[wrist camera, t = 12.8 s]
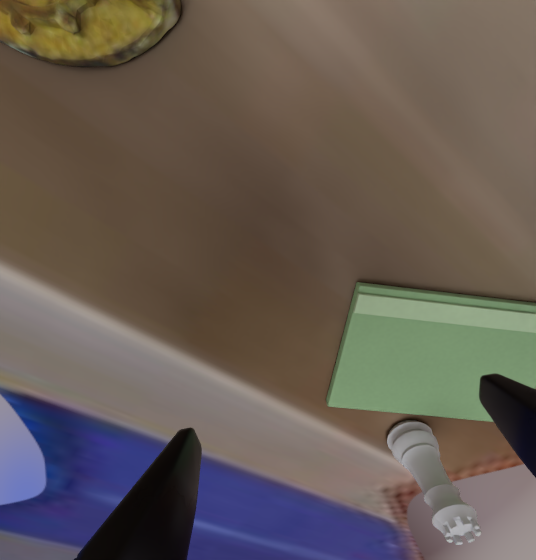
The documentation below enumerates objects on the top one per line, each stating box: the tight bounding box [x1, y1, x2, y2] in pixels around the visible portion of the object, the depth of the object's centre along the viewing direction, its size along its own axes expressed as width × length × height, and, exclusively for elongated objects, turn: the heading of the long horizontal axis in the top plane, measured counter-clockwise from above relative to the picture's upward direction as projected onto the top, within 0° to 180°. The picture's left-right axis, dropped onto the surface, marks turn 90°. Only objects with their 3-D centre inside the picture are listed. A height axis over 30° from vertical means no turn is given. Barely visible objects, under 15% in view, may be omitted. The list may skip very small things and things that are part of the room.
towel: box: [326, 282, 536, 422], centre depth 23 cm, size 18×12×1 cm, turn 83°
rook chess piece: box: [387, 420, 481, 545], centre depth 23 cm, size 4×4×8 cm
